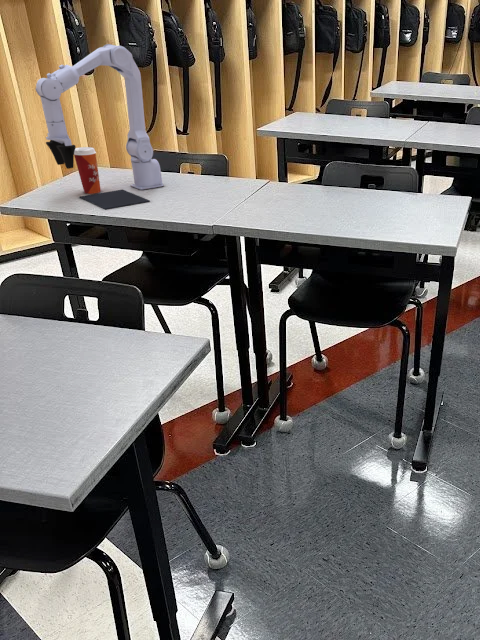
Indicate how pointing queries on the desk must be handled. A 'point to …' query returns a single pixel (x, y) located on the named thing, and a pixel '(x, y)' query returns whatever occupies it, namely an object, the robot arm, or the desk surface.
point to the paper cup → (88, 169)
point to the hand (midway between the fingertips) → (65, 166)
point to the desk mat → (114, 199)
